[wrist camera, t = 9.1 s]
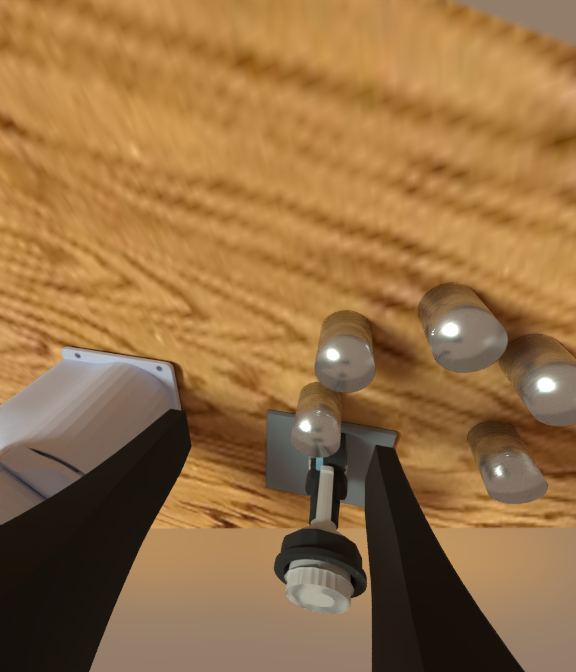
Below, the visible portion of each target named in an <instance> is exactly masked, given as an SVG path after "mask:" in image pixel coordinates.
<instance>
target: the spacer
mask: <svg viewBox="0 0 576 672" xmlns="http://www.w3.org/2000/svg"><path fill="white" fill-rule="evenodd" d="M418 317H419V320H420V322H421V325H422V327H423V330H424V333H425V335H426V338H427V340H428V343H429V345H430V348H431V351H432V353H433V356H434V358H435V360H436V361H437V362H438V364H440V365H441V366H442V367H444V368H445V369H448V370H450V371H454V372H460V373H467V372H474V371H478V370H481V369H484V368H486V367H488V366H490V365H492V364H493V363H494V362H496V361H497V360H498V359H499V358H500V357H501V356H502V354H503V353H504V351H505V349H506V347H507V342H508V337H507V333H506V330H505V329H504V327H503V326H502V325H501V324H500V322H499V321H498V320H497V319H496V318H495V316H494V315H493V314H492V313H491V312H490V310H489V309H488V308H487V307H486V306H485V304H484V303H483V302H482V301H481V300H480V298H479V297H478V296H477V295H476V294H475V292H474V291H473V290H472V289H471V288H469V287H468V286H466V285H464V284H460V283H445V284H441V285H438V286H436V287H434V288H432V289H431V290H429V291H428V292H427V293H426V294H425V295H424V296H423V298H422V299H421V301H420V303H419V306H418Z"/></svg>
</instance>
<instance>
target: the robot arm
mask: <svg viewBox="0 0 576 672" xmlns="http://www.w3.org/2000/svg"><path fill="white" fill-rule="evenodd" d="M61 353H62V356H63V358H64V359H63V360H62V361H61V362H59V363H58V364H56V365H55V366H54V367H52V368H51V369H50V370H48V371H47V372H46V373H44V374H43V375H41V376H40V377H39V378H37V379H36V380H35V381H33V382H32V383H31V384H29V385H28V386H26V387H25V388H24V389H22V390H21V391H20V392H18V393H17V394H15V395H14V396H13V397H11V398H10V399H9V400H7V401H6V402H5V403H3V404H2V405H1V406H0V672H89V670H90V668H91V665H92V662H93V660H94V657H95V654H96V652H97V649H98V647H99V644H100V641H101V639H102V636H103V634H104V631H105V629H106V626H107V624H108V621H109V619H110V616H111V614H112V611H113V609H114V606H115V604H116V602H117V599H118V597H119V595H120V592H121V590H122V588H123V585H124V583H125V580H126V578H127V576H128V573H129V571H130V569H131V567H132V564H133V562H134V560H135V558H136V556H137V553H138V551H139V549H140V547H141V545H142V542H143V540H144V539H145V537H146V535H147V533H148V531H149V529H150V527H151V525H152V523H153V522H154V520H155V518H156V516H157V514H158V513H159V511H160V509H161V507H162V506H163V504H164V502H165V500H166V498H167V497H168V495H169V493H170V491H171V489H172V488H173V486H174V484H175V482H176V480H177V478H178V477H179V475H180V473H181V471H182V468H183V466H184V464H185V461H186V459H187V456H188V454H189V451H190V449H191V441H190V435H189V429H188V424H187V418H186V412H185V411H182V410H181V404H180V399H179V394H178V388H177V383H176V377H175V372H174V367H173V365H172V364H171V363H169V362H164V361H158V360H151V359H145V358H138V357H132V356H126V355H119V354H113V353H106V352H100V351H93V350H87V349H81V348H74V347H64V348H63V349H62V350H61ZM365 520H366V532H367V542H368V554H369V566H370V577H371V593H372V672H525V671H524V670H523V669H522V667H521V666H520V665H519V663H518V662H517V661H516V659H515V658H514V657H513V655H512V654H511V652H510V651H509V650H508V648H507V647H506V645H505V644H504V642H503V641H502V640H501V638H500V637H499V635H498V634H497V633H496V631H495V630H494V628H493V627H492V625H491V624H490V623H489V621H488V620H487V618H486V617H485V616H484V614H483V613H482V611H481V610H480V608H479V607H478V605H477V604H476V602H475V601H474V599H473V598H472V596H471V595H470V593H469V592H468V590H467V589H466V587H465V585H464V584H463V582H462V581H461V579H460V578H459V576H458V574H457V573H456V571H455V569H454V568H453V566H452V565H451V563H450V561H449V560H448V558H447V556H446V554H445V553H444V551H443V549H442V548H441V546H440V544H439V542H438V540H437V538H436V537H435V535H434V533H433V531H432V529H431V527H430V526H429V524H428V522H427V520H426V518H425V516H424V514H423V512H422V510H421V508H420V506H419V504H418V502H417V500H416V498H415V496H414V493H413V491H412V489H411V487H410V485H409V482H408V480H407V478H406V476H405V473H404V471H403V469H402V466H401V464H400V461H399V459H398V456H397V453H396V450H395V449H394V448H392V447H387V446H381V445H375V448H374V451H373V455H372V458H371V461H370V465H369V468H368V471H367V475H366V478H365Z"/></svg>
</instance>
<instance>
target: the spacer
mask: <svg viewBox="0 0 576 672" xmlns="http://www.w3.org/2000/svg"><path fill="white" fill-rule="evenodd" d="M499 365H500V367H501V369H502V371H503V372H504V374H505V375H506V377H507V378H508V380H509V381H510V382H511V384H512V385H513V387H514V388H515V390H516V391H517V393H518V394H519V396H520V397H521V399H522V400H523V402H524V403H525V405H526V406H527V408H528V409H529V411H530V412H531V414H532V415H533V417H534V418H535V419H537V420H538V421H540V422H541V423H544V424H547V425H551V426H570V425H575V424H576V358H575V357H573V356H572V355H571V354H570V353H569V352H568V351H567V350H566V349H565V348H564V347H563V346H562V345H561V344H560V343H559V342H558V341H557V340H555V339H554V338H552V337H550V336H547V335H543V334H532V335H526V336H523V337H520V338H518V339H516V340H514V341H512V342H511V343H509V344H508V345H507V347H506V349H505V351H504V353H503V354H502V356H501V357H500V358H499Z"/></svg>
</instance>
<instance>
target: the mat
mask: <svg viewBox="0 0 576 672" xmlns="http://www.w3.org/2000/svg"><path fill="white" fill-rule="evenodd" d="M294 419H295V414H291V413H285V412H280V411H274V410H268V412H267V446H266V488H271V489H276V490H281V491H286V492H291V493H296V494H301V495H306V496H311V495H307V493H306V491H305V484H306V477H307V473H308V471H309V456H307V455H305V454H303V453H301V452H299V451H298V450H297V449H296V448H295V447H294V446H293V444H292V442H291V432H292V428H293V423H294ZM341 433H345V434H346V452H345V465H346V456H347V451H348V468H347V474H346V477H347V480H348V489H347V497H346V499H345V500H340V503H345V504H350V505H355V506H360V507H365V478H366V475H367V471H368V468H369V465H370V461H371V458H372V455H373V451H374V448H375V445H381V446H387V447H392V448H393V445H394V442H395V439H396V436H397V434H396V431H392V430H386V429H380V428H374V427H368V426H362V425H356V424H351V423H345V422H341ZM311 458H316V457H311Z"/></svg>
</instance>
